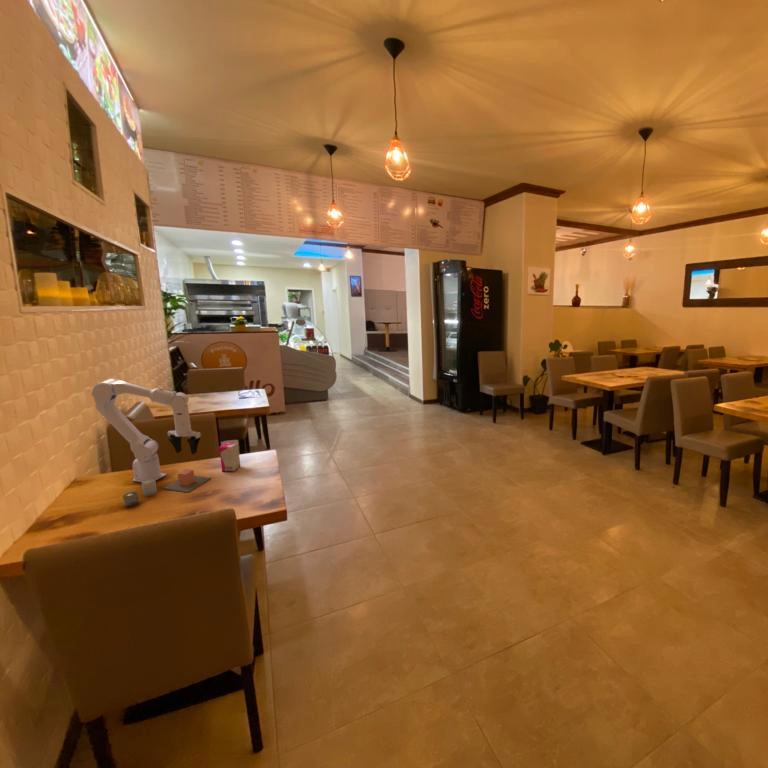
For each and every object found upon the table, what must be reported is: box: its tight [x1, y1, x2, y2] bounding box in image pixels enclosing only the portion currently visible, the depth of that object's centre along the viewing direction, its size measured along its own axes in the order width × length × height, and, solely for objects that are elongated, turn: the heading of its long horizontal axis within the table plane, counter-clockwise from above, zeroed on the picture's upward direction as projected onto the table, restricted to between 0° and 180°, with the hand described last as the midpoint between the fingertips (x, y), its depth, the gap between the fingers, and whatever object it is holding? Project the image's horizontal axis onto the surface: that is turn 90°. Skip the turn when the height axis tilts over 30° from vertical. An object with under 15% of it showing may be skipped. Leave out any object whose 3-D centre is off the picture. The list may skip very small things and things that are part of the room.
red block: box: [177, 468, 195, 486], centre depth 145 cm, size 4×4×5 cm
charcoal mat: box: [163, 475, 212, 494], centre depth 146 cm, size 12×12×1 cm
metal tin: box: [122, 490, 140, 508], centre depth 131 cm, size 4×4×4 cm
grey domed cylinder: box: [141, 479, 158, 497], centre depth 139 cm, size 4×4×5 cm
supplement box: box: [219, 442, 241, 473], centre depth 158 cm, size 6×6×12 cm
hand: (186, 452), depth 154 cm, fingers open, 7 cm apart
